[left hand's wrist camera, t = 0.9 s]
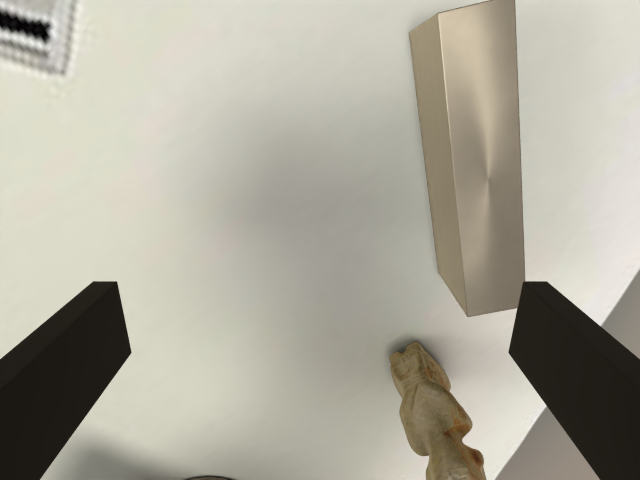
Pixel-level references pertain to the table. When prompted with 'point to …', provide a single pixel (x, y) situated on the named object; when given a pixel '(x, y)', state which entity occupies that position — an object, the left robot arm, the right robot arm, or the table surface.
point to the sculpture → (434, 417)
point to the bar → (473, 151)
